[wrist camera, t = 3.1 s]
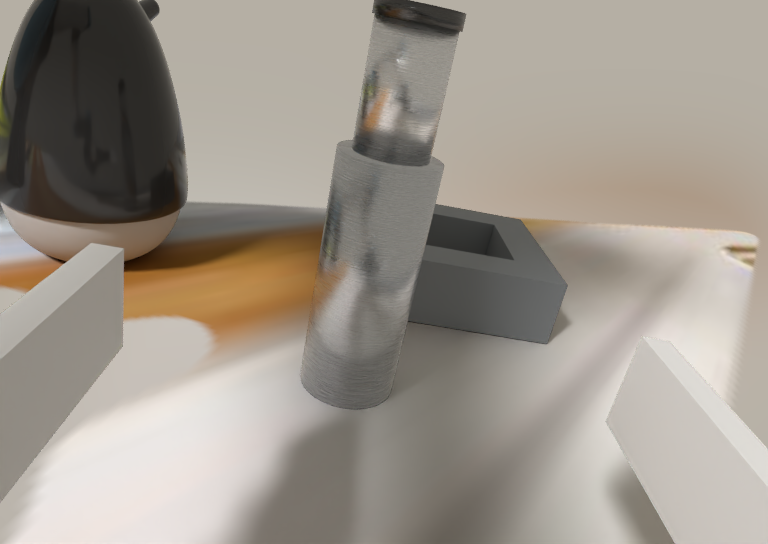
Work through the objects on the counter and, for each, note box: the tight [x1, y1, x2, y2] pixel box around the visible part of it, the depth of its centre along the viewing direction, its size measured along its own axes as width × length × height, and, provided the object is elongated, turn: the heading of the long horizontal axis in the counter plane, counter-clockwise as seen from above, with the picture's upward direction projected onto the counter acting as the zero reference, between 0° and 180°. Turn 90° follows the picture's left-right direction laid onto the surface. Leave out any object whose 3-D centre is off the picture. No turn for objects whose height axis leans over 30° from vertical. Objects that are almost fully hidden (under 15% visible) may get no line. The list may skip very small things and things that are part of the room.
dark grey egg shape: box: [0, 0, 188, 261], centre depth 32 cm, size 10×10×15 cm
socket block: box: [408, 204, 568, 344], centre depth 39 cm, size 12×12×4 cm
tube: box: [300, 0, 466, 409], centre depth 24 cm, size 4×4×17 cm
